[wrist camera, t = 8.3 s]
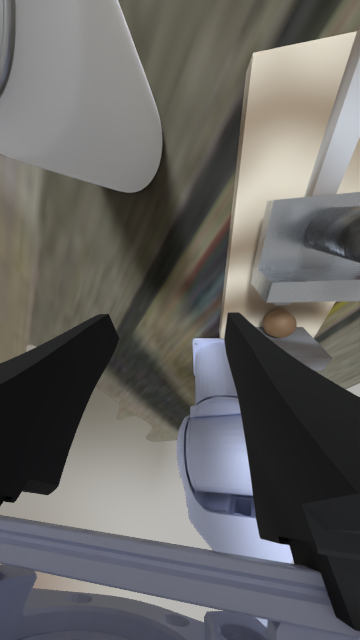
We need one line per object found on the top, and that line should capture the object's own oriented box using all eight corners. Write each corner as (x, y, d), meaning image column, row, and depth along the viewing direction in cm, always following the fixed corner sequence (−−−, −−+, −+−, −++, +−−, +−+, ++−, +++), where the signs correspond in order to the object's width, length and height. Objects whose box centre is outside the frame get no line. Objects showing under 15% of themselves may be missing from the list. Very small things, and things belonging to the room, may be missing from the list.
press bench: (305, 332, 21) (342, 372, 16) (218, 332, 22) (225, 368, 17) (471, 29, 8) (971, -305, 3) (245, 73, 10) (306, -98, 4)
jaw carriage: (340, 279, 14) (446, 326, 8) (250, 282, 15) (285, 327, 9) (391, 189, 10) (659, 155, 4) (267, 201, 11) (346, 186, 5)
